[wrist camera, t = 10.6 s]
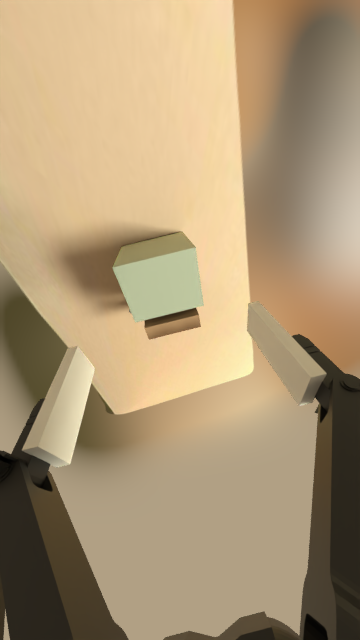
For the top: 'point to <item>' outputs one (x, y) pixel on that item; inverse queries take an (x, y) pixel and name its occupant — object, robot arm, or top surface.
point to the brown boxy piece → (172, 323)
